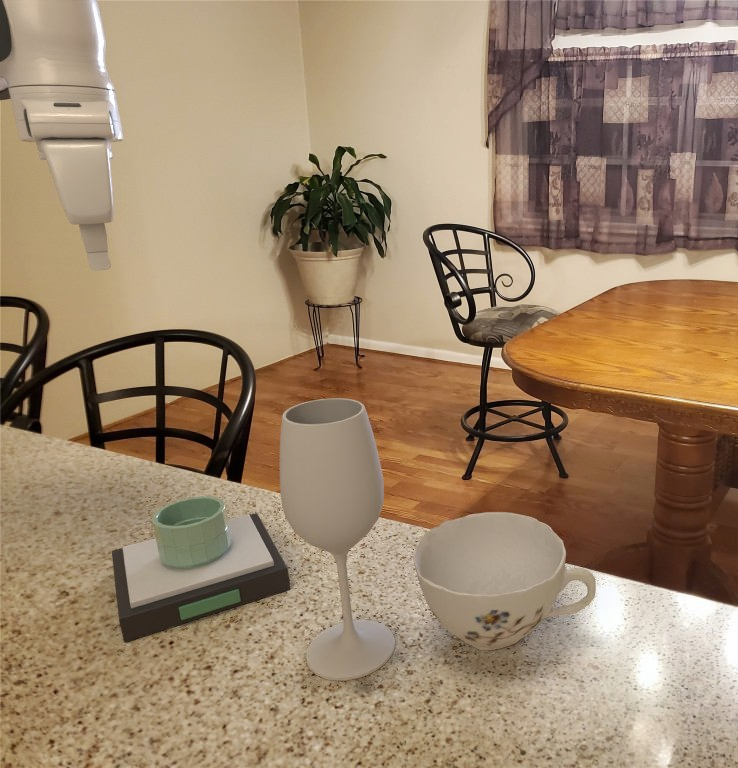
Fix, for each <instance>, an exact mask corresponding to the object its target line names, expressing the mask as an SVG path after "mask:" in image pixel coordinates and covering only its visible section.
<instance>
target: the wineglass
mask: <svg viewBox="0 0 738 768" xmlns="http://www.w3.org/2000/svg"><path fill="white" fill-rule="evenodd" d="M279 437H280V438H279V493H280V494H279V495H280V499H281V506H282V510H283V515H284V517H285V519H286V521H287V522H288V523H287V524H289V526H290V528H291V529H292V530H293V532H294V533H295V534H296V535H297V536H298V537H300V538H301V539H302V540H303V541H305V542H306V543H308V544H309V545H310V546H313V547H315V548H317V549H319V550H322V551H324V552H326V553H330V555H331V556H332V557H333V558H334V561H335V564H336V567H337V568H336V569H337V578H338V586H339V594H340V603H341V604H340V605H341V612H342V619H343V622H339V623H336V624H335V625H332V626H330V627H328V628H326V629H324V630H323V631H322V632H320V633H318V634H317V635H316V636H315V637H314V638H313V639H312V640H311V642H310V644H308V647H307V649H306V653H305V659H306V665H307V666H308V668H309V671H311V672H312V673H313V674H314V675H316V676H318V677H320V678H321V679H324V680H330V681H350V680H351V681H352V680H357V679H359V678H362V677H365V676H369V675H371V674H372V673H375V672H376V671H377V670H379V669H380V668H382V667H383V666H385V665H386V663H388V661H389V660H390V659H391V658H392V656H393V653H394V652H395V649H396V639H395V634H394V633H393V631H391V629H390V628H389V627H388V626H386V625H385V624H384V623H381V622H378V621H375V620H370V619H353V611H352V604H351V595H350V594H351V593H350V585H349V576H348V567H347V563H348V554H349V552H350V550H352V549H353V548H354V547H355V546H356V545H357V544H359V543H360V542H361V541H362V540H363V539H364V538H365V537H366V536H367V535H368V534H369V533H370V531H372V529H373V527H375V525H376V524H377V522H378V520H379V519H380V515H381V513H382V510H383V506H384V499H385V483H384V475H383V470H382V466H381V465H382V463H381V459H380V455H379V450H378V447H377V443H376V438H375V435H374V431H373V428H372V425H371V421H370V418H369V415H368V412H367V409H366V407H365V405H364V403H362V402H361V401H358V400H356V399H350V398H343V397H338V398H337V397H336V398H335V397H334V398H333V397H332V398H320V399H314V400H309V401H305V402H301V403H299V404H295V405H293V406H291V407H289V408H287V409H286V410H284V412H283V414H282V417H281V424H280V436H279Z"/></svg>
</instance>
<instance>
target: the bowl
mask: <svg viewBox="0 0 738 768" xmlns="http://www.w3.org/2000/svg"><path fill="white" fill-rule="evenodd" d="M228 519H229V517H228V512H227V505H226V503H225V501H224V500H223V499H221V498H219V497H216V496H210V495H209V496H208V495H201V496H200V495H199V496H190V497H186V498H182V499H178V500H176V501H175V500H174V501H172V502H171V503H168V504H165V505H164V506H162V507H161V508H159V509H157V510H156V511H155V512H154V514H153V515H152V517H151V523H152V528H153V532H154V537H155V538H156V543H157V547H158V552H159V557H160V561H161V562H163V563H165V564H166V565H169V566H170V567H173V568H179V569H188V568H195V567H199V566H203V565H206V564H208V563H211V562H213V561H215V560H216V559H218V558H219V557H221V556H222V555H223V554H224V553H225V551H226V550H227V549H228V548H229V546H230V544H231V535H230V529H229V524H228Z"/></svg>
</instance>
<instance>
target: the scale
mask: <svg viewBox="0 0 738 768" xmlns="http://www.w3.org/2000/svg"><path fill="white" fill-rule="evenodd" d="M228 524H229V529H230V535H231V544H230V546H229V548H228V549H227V550H226V551H225V553H224V554H223V555H222V556H221V557H219V558H218V559H216V560H215V561H213V562H211V563H208V564H206V565H203V566H199V567H195V568H188V569H179V568H173V567H170V566H169V565H166V564H165V563H163V562H161V561H160V557H159V552H158V547H157V543H156V537H155V538H151V539H147V540H144V541H143V540H142V541H140V542H136V543H132V544H128V545H124V546H122V547H120V548H117V549H113V550H111V557H112V558H111V559H112V567H113V568H112V569H113V577H114V586H115V597H116V605H117V614H118V616H117V617H118V622H119V626H120V630H121V634H122V639H123V642H124V643H128V642H131V641H134V640H138V639H140V638H144V637H146V636H150V635H153V634H156V633H160V632H162V631H165V630H169V629H171V628H174V627H179V626H180V625H184V624H187V623H190V622H194V621H196V620H199V619H202V618H206V617H209V616H212V615H216V614H218V613H221V612H225V611H228V610H231V609H234V608H237V607H240V606H243V605H247V604H250V603H253V602H256V601H259V600H261V599H265V598H268V597H271V596H274V595H277V594H280V593H285V592H287V591H289V590H290V591H291V583H290V582H291V581H290V575H289V569H288V568H289V567H288V566H287V564H286V562H285V560H284V559H283V557H282V555H281V552H279V550H278V548H277V546H276V544H275V542H274V540H273V539H272V537H271V535H270V533H269V531H268V530H267V529H266V526H265V524H264V522H263V521H262V519H261V517H260V515H259V513H258V512H255V513H251V514H250V513H247V514H243V515H240V516H236V517H232V518H228Z"/></svg>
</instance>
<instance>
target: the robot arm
mask: <svg viewBox="0 0 738 768" xmlns="http://www.w3.org/2000/svg"><path fill="white" fill-rule="evenodd" d="M103 24H104V23H103V19H102V14H101V11H100V6H99V2H98V0H0V101H7V100H10V101H11V106H12V111H13V116H14V119H15V124H16V129H17V134H18V138H19V141H21V142H23V143H36V148H37V151H38V153H37V154H38V157H39V159H40V160H43V161H44V160H46V163H47V166H48V168H49V172H50V174H51V178H52V180H53V183H54V186H55V189H56V192H57V195H58V198H59V201H60V204H61V206H62V208H63V211H64V214H65V216H66V218H67V220H68V222H69V223H70V224H71V225H78V227H79V232H80V236H81V240H82V243H83V245H84V246H83V247H84V249H85V253H86V257H87V261H88V266H89V268H90V269H91V270H92V271H94V272H97V271H107V270H109V269H110V268H111V267H112V265H111V260H110V254H109V248H108V247H109V246H108V235H107V229H106V225H105V224H108V223H109V224H110V223H112V222H113V221H114V213H115V212H114V209H115V207H114V190H113V177H112V166H111V160H112V159H114V153H113V151H112V150H113V148H112V143H117V142H118V143H119V142H123V141H125V137H124V132H123V126H122V120H121V116H120V110H119V105H118V100H117V93H116V88H115V86H114V83H113V81H112V80H111V77H110V74H109V72H108V69H107V63H106V54H107V39H106V34H105V29H104V25H103Z"/></svg>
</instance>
